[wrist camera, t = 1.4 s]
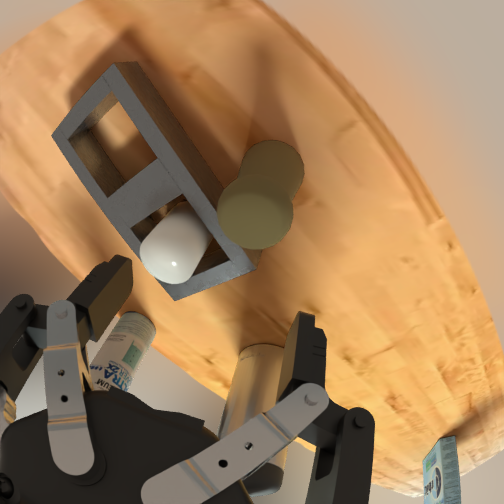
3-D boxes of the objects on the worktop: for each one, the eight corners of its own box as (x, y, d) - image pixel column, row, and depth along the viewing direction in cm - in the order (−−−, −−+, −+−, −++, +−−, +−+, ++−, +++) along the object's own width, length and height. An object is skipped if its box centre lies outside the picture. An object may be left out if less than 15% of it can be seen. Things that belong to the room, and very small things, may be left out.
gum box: (439, 438, 54) (443, 518, 35) (456, 434, 52) (462, 513, 34) (421, 461, 64) (422, 526, 45) (437, 458, 62) (438, 523, 43)
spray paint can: (164, 338, 46) (112, 445, 30) (135, 339, 49) (83, 435, 32) (143, 308, 43) (78, 419, 27) (114, 312, 46) (52, 410, 29)
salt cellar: (225, 234, 33) (205, 272, 28) (188, 252, 36) (164, 290, 30) (196, 192, 31) (168, 224, 26) (159, 215, 34) (129, 248, 28)
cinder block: (263, 247, 33) (256, 269, 30) (186, 280, 38) (174, 301, 35) (136, 61, 24) (113, 63, 21) (73, 126, 29) (51, 135, 26)
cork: (281, 128, 26) (262, 161, 17) (316, 181, 28) (315, 241, 19) (229, 160, 29) (186, 208, 20) (263, 209, 31) (239, 275, 22)
